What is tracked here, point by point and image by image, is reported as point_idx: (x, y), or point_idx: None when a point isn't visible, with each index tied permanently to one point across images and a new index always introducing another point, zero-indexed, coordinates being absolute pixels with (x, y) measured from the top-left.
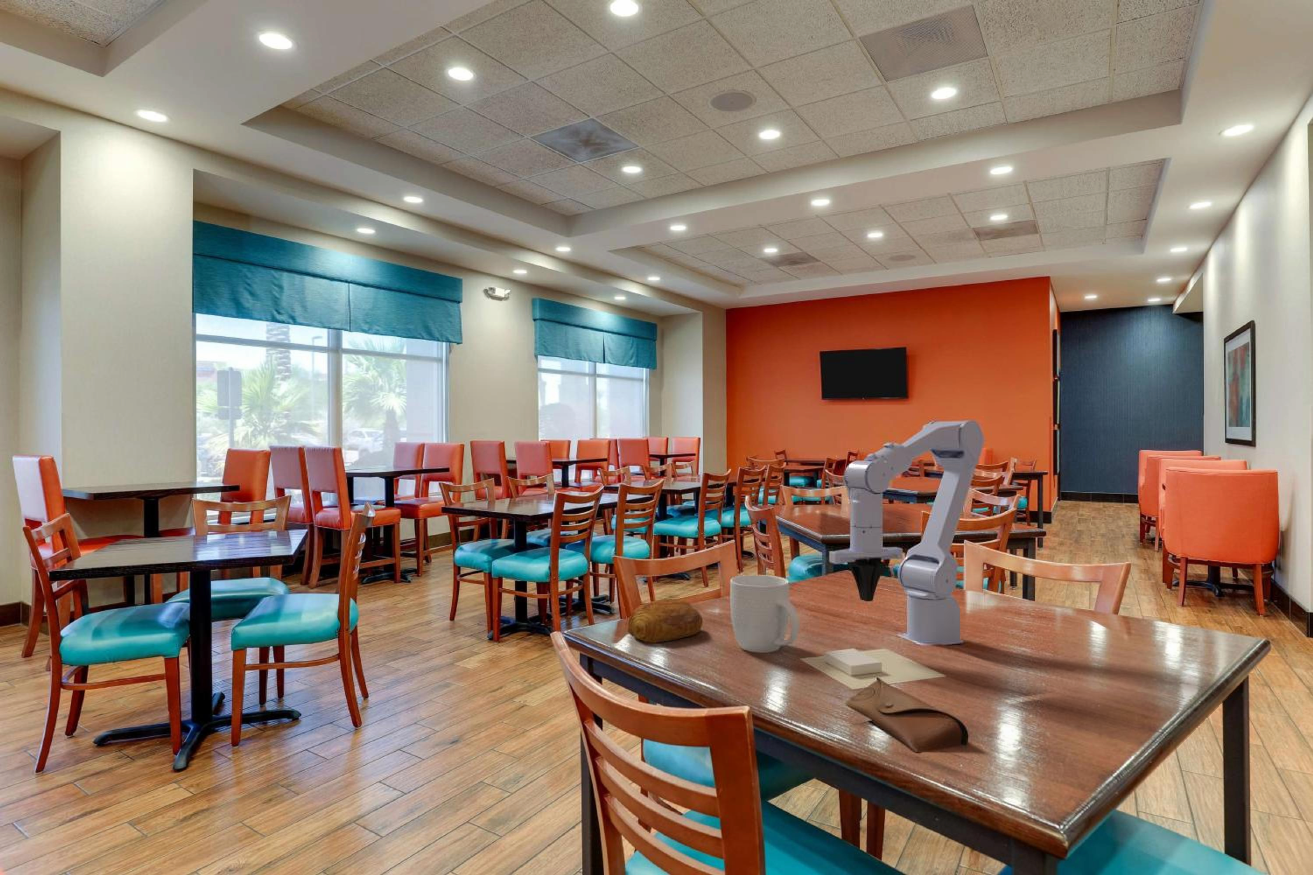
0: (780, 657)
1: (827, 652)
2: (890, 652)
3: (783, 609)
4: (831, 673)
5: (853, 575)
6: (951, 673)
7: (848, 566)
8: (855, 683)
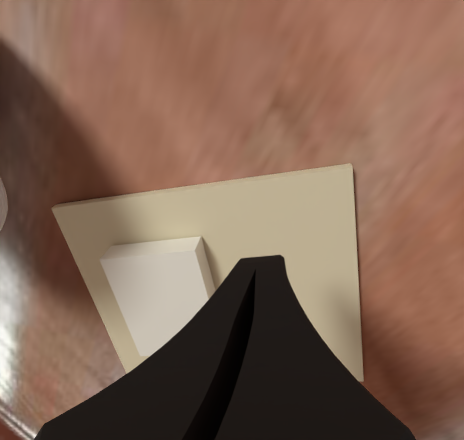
0: (6, 154)
1: (107, 265)
2: (343, 209)
3: None
4: (111, 312)
5: (154, 358)
6: (407, 349)
7: (66, 413)
8: None
